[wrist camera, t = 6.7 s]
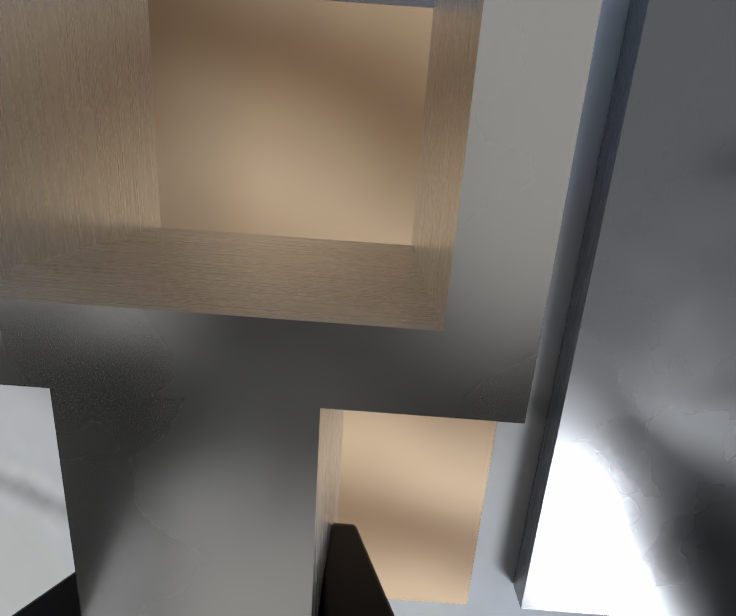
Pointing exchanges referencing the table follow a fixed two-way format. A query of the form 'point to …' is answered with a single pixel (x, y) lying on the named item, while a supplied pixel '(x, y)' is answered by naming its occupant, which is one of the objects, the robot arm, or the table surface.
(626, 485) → the plate
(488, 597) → the table surface
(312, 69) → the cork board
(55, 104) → the white open-top bracket
